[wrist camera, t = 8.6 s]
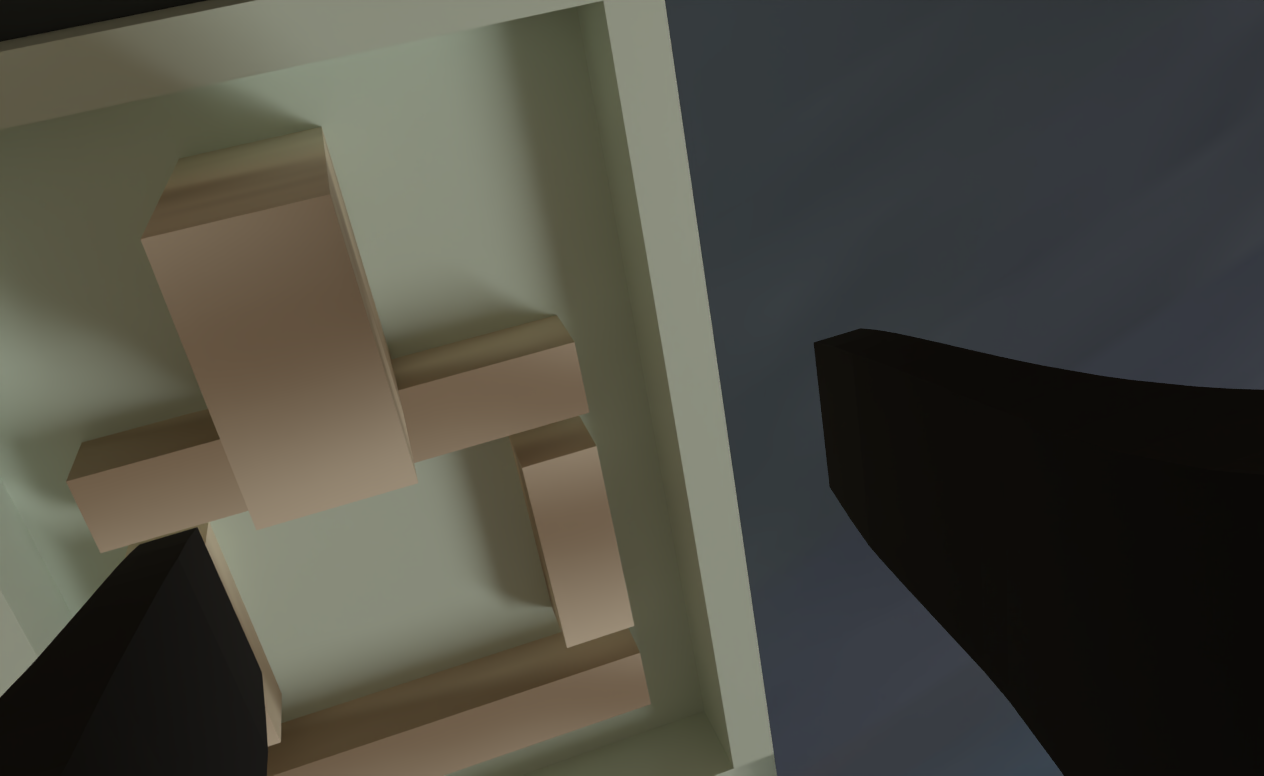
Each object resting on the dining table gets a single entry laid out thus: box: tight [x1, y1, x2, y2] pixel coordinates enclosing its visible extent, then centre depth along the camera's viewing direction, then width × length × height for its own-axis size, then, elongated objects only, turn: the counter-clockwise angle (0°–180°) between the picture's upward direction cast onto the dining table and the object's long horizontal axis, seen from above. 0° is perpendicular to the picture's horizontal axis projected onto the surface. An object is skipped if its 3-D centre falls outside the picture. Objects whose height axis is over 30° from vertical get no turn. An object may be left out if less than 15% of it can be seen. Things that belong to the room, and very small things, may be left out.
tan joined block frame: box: [66, 127, 651, 776], centre depth 19 cm, size 14×9×5 cm, turn 9°
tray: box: [0, 0, 777, 776], centre depth 20 cm, size 19×14×2 cm
